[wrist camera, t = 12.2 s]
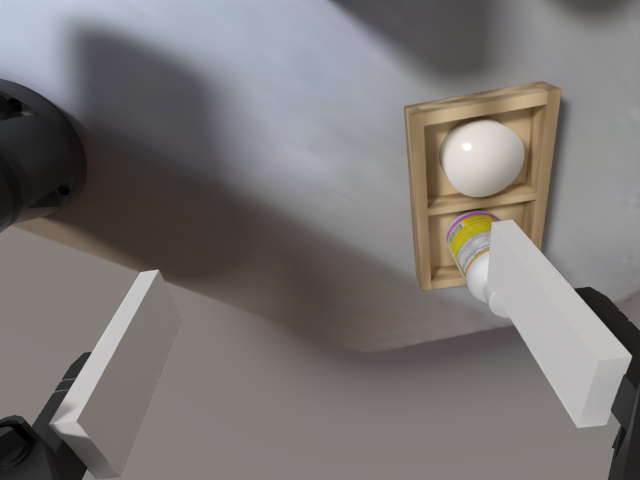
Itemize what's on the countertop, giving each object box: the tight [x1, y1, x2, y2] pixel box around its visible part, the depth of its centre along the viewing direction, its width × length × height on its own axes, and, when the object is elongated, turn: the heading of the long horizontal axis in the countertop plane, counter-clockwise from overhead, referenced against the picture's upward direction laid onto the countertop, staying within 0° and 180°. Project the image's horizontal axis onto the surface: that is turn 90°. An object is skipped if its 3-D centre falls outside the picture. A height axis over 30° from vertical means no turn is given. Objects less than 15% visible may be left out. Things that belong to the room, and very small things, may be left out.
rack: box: [404, 81, 562, 291], centre depth 45 cm, size 14×22×4 cm, turn 10°
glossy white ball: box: [439, 116, 525, 197], centre depth 42 cm, size 8×8×4 cm
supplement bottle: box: [446, 210, 510, 318], centre depth 43 cm, size 7×7×13 cm
